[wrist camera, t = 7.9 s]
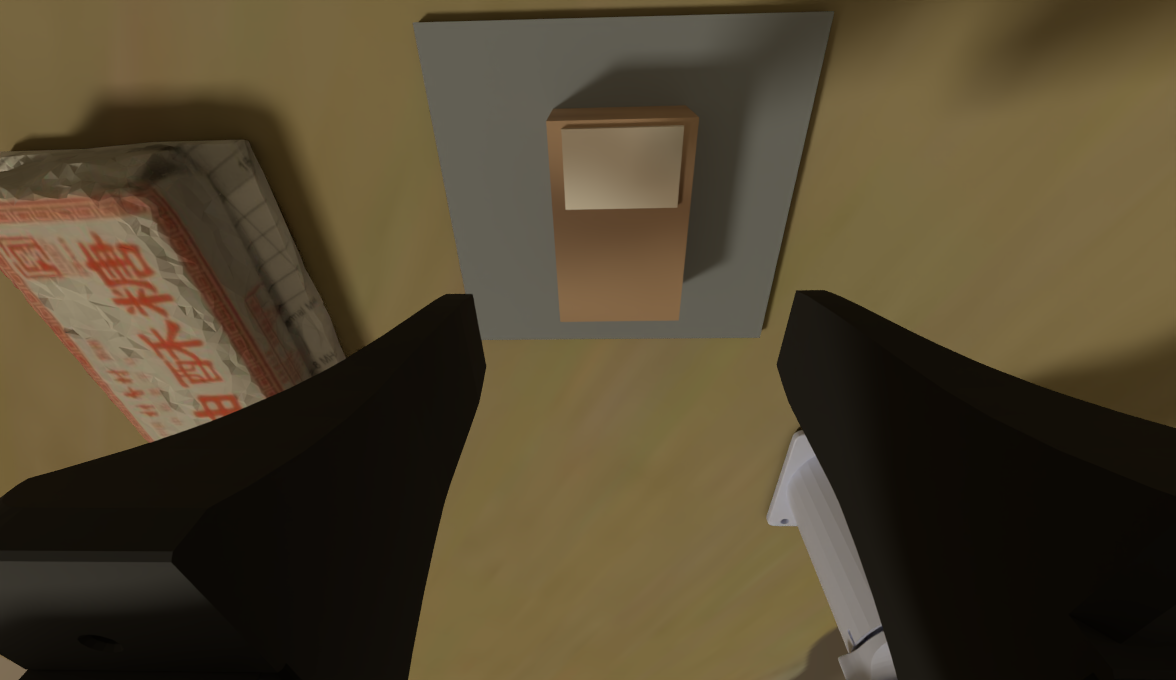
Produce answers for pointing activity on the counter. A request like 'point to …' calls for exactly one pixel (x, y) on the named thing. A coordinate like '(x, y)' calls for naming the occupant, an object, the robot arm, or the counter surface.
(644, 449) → the counter surface
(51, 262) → the packaged product
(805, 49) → the slate mat
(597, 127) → the walnut block
